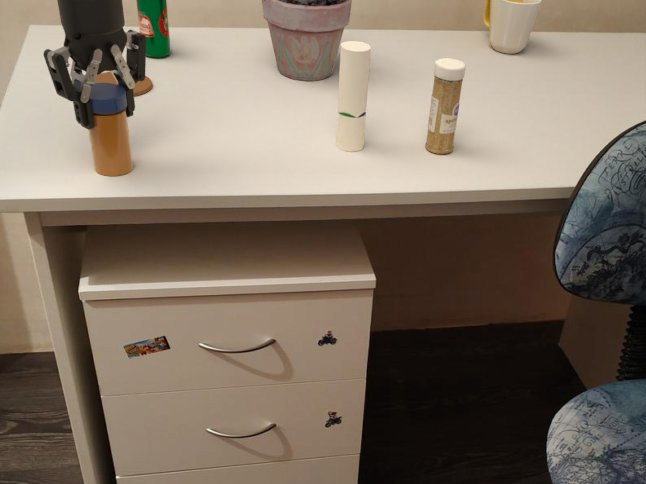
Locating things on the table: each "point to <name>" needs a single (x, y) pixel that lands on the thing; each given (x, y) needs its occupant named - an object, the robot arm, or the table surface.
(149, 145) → the table surface
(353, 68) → the tube
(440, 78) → the sprinkles bottle
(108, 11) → the robot arm
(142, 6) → the soda can
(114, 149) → the jar
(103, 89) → the jar lid
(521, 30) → the mug
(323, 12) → the potted plant
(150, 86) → the coaster
